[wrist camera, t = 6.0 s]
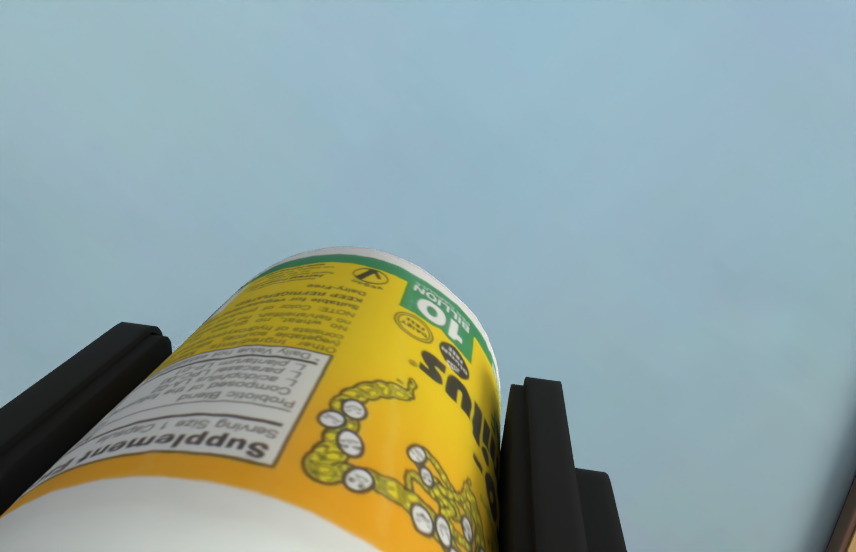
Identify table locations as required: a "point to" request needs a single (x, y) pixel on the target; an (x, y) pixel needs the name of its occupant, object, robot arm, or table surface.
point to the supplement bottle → (294, 427)
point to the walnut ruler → (845, 526)
